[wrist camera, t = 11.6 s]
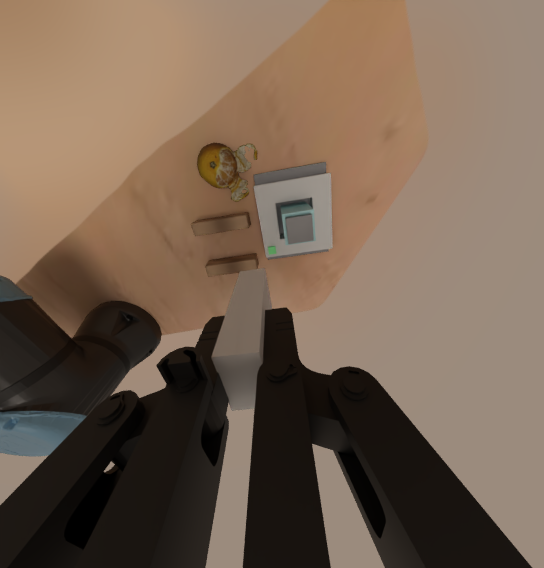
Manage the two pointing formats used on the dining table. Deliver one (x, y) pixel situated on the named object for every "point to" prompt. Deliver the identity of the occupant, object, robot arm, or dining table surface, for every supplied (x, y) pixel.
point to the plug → (298, 223)
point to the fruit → (225, 167)
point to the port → (286, 190)
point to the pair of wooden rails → (224, 225)
